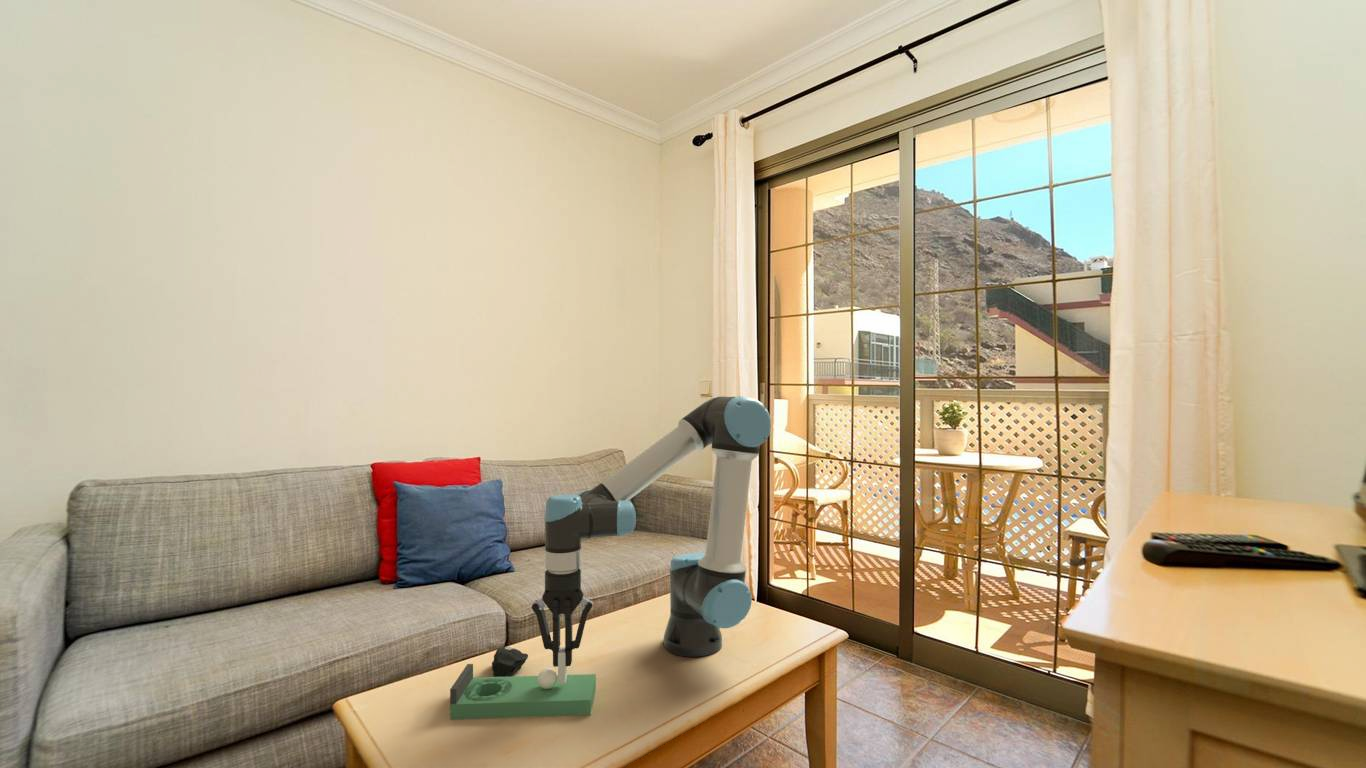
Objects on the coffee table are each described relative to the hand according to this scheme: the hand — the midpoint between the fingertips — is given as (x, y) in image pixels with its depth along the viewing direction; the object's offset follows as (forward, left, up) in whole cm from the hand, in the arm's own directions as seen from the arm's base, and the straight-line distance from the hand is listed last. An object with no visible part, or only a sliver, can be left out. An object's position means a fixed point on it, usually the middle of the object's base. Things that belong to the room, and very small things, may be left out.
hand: (562, 680), depth 124 cm
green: (+7, 0, -4) cm, 9 cm away
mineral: (+14, -14, -5) cm, 20 cm away
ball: (+3, 0, +1) cm, 3 cm away
